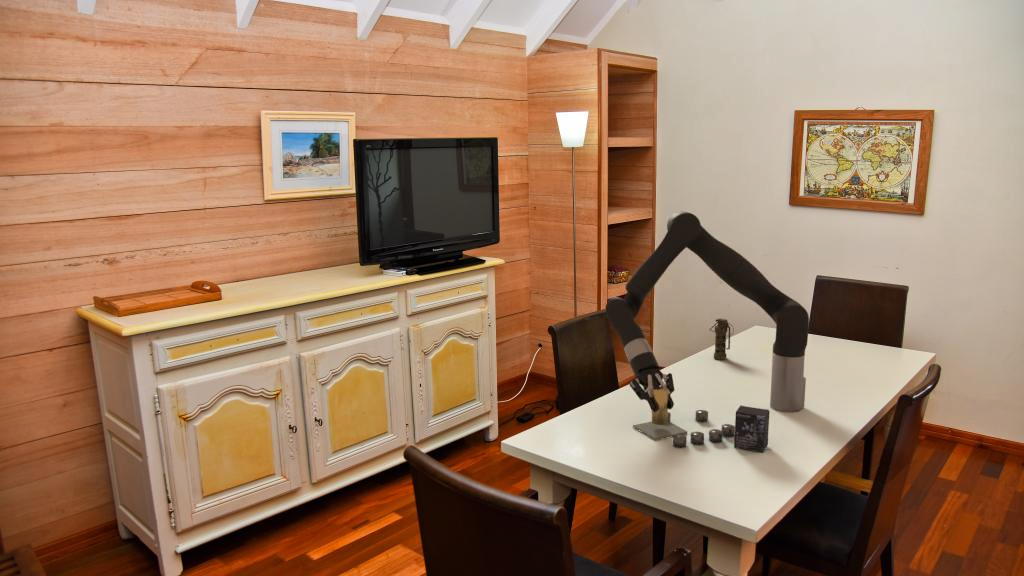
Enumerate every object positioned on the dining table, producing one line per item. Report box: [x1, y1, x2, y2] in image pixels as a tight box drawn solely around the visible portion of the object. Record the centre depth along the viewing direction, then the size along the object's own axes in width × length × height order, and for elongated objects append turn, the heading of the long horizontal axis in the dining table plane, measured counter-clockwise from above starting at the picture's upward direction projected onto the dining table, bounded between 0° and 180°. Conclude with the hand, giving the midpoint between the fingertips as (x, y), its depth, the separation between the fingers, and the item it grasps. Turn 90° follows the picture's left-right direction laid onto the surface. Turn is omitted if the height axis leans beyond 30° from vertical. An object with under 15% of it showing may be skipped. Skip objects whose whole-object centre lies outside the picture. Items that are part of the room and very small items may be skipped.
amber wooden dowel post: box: [651, 386, 669, 425], centre depth 222 cm, size 4×4×10 cm
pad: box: [632, 420, 688, 441], centre depth 224 cm, size 11×11×1 cm
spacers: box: [667, 409, 735, 449], centre depth 223 cm, size 21×22×2 cm
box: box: [733, 405, 771, 454], centre depth 210 cm, size 8×6×11 cm
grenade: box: [709, 318, 735, 361], centre depth 288 cm, size 9×6×15 cm, turn 50°
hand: (663, 409), depth 221 cm, fingers closed on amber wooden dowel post, 4 cm apart
